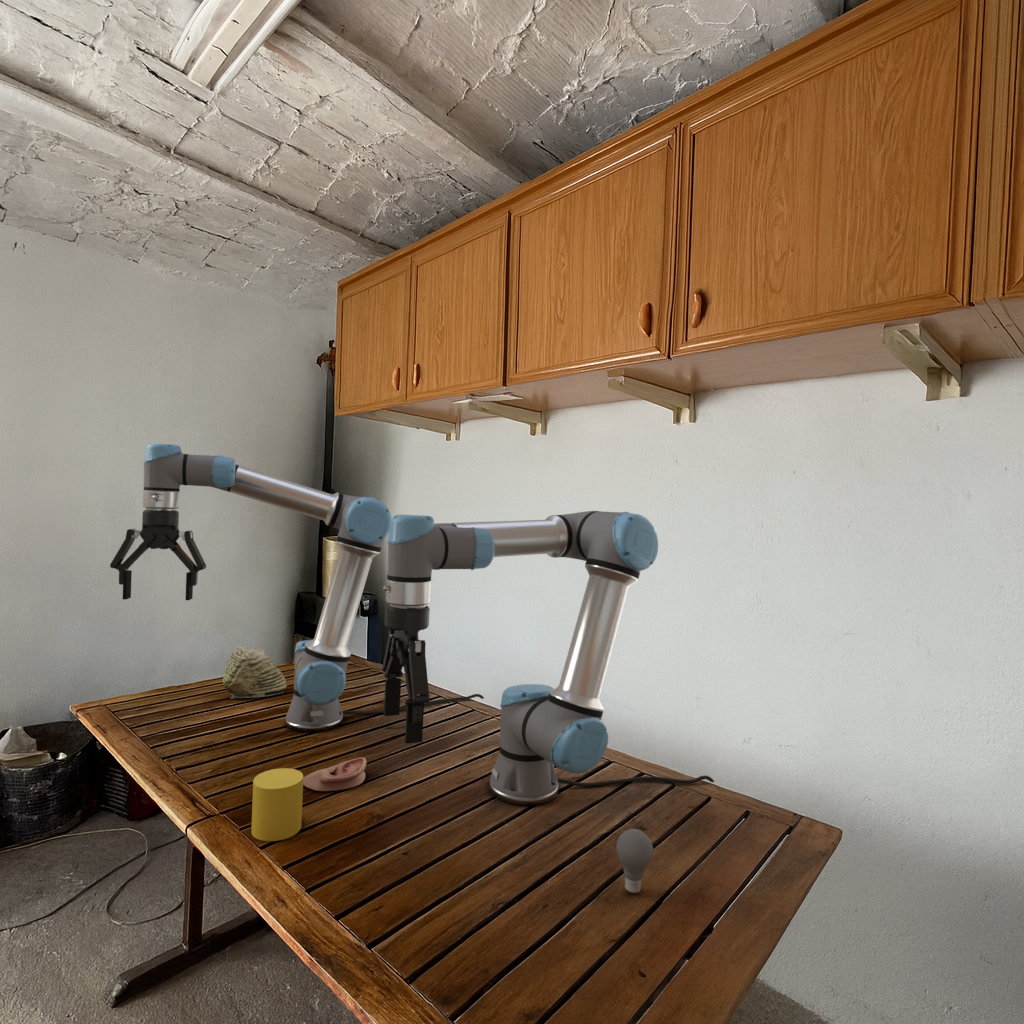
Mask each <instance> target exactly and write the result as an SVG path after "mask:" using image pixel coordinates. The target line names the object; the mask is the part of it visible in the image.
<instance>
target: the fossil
mask: <svg viewBox="0 0 1024 1024" xmlns="http://www.w3.org/2000/svg"><path fill="white" fill-rule="evenodd" d="M222 676H223V677H222V685H223V687H224V688H225V690H226V691H228V693H229V698H230V699H250V698H264V697H271V696H275V695H281V694H284V693H285V691H286V689H287V687H288V686H287V680H286V678H285V676H284V674H283V673H282V672H281V669H279V668H278V667H277V665H276V663H275V662H274V660H273V659H272V658H271V657H270V656H269V655H268V654H267V653H266V652H265V650H264V649H263V648H260V647H258V648H251V647H247V646H246V647H245V646H238V647H237V648H236V649H235V650H233V651H232V653H231V656H230V657H229V659H228V660H227V663H226V666H225V668H224V671H223V675H222Z"/></svg>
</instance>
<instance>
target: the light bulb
mask: <svg viewBox="0 0 1024 1024" xmlns="http://www.w3.org/2000/svg"><path fill="white" fill-rule="evenodd" d="M615 849H616V854H617V857H618V859H619V861H620V863H621V865H622V867H623V873H624V874H623V875H624V876H625V878H624V888H625V890H627V891H628V892H630V893H634V894H635V893H639V892H640V891H641V889H642V887H641V886H642V879H643V877H644V875H645V871H646V868H647V867H648V866H649V864H650V863H651V861H652V859H653V855H654V847H653V843H652V841H651V838H649V836H648V835H647V834H646V833H645V832H643V831H642V830H641V829H636V828H629V829H627V830H625V831H623V832H622V833H621V834H620V835H619V837H618V839H617V841H616V847H615Z"/></svg>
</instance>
